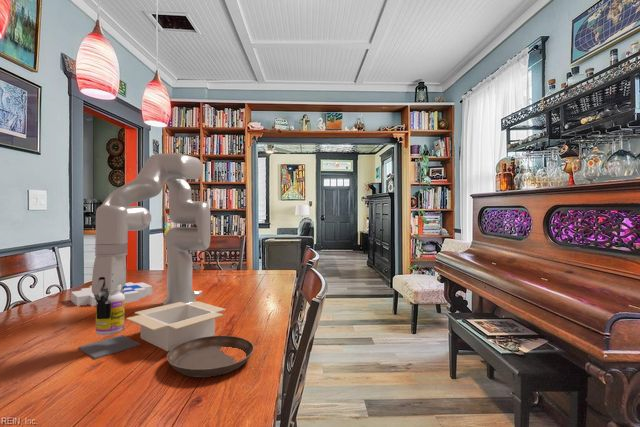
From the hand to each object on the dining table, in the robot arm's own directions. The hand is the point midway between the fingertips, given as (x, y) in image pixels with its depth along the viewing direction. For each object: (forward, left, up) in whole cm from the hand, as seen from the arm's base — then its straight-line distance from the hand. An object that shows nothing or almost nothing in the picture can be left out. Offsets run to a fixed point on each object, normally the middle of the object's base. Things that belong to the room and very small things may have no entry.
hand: (110, 313), depth 89 cm
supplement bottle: (0, 0, -5) cm, 5 cm away
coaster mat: (0, 0, -9) cm, 9 cm away
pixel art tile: (-24, -57, -10) cm, 62 cm away
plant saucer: (-12, +30, -10) cm, 34 cm away
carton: (-16, +8, -9) cm, 20 cm away
